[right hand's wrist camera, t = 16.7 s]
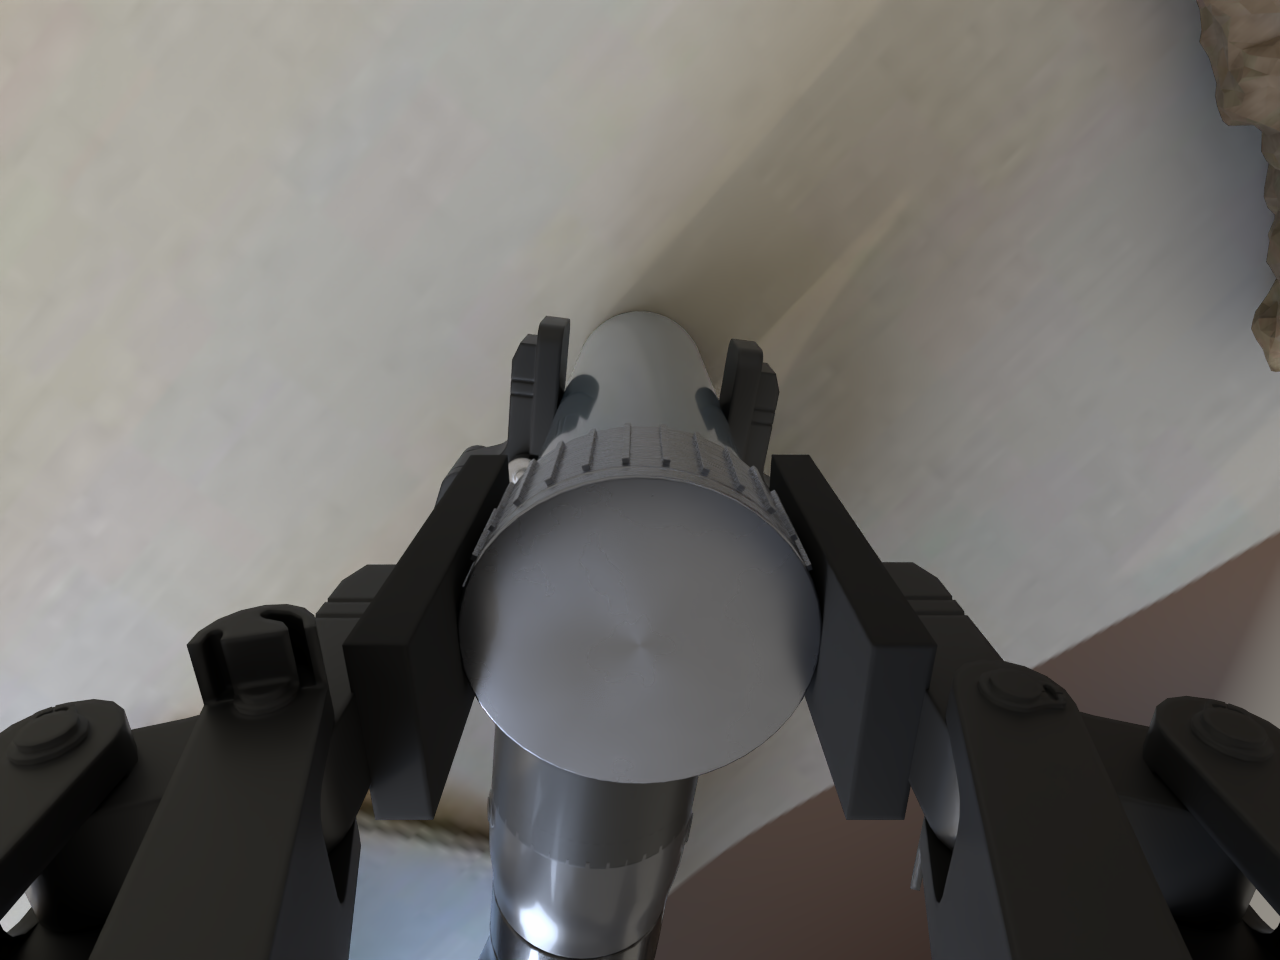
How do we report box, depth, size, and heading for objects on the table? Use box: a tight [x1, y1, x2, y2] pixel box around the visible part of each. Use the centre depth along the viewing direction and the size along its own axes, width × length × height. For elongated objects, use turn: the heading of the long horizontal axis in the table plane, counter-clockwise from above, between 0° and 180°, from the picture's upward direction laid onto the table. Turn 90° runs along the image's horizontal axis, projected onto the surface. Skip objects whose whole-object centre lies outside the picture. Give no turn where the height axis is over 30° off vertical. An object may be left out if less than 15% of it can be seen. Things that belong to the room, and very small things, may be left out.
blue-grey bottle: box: [537, 311, 744, 462], centre depth 19 cm, size 5×5×17 cm
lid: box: [457, 423, 822, 784], centre depth 11 cm, size 6×6×2 cm
